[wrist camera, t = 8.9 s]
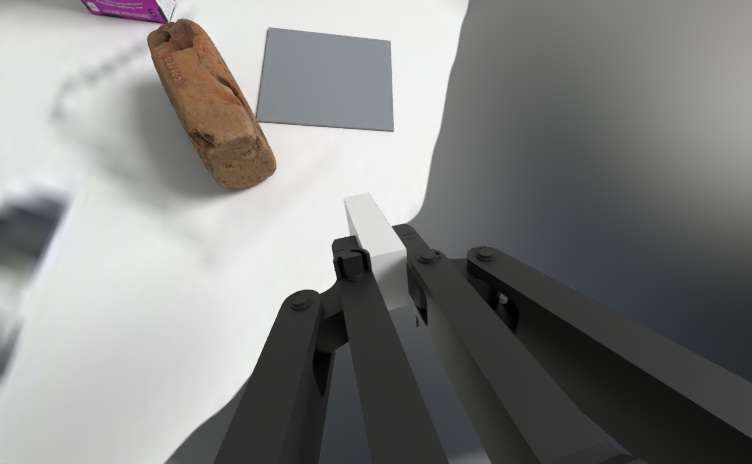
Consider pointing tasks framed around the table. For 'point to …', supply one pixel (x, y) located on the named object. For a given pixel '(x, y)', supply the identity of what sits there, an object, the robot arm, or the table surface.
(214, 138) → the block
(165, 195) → the table surface
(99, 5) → the candy bar box
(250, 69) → the table surface
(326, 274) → the table surface
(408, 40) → the table surface
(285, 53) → the mat
